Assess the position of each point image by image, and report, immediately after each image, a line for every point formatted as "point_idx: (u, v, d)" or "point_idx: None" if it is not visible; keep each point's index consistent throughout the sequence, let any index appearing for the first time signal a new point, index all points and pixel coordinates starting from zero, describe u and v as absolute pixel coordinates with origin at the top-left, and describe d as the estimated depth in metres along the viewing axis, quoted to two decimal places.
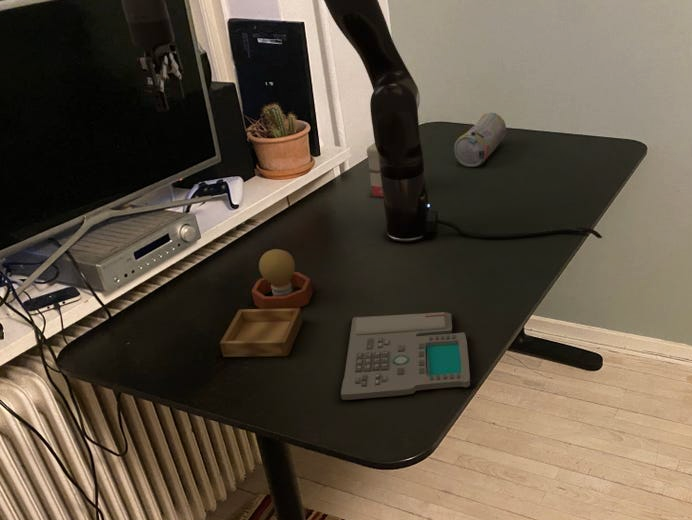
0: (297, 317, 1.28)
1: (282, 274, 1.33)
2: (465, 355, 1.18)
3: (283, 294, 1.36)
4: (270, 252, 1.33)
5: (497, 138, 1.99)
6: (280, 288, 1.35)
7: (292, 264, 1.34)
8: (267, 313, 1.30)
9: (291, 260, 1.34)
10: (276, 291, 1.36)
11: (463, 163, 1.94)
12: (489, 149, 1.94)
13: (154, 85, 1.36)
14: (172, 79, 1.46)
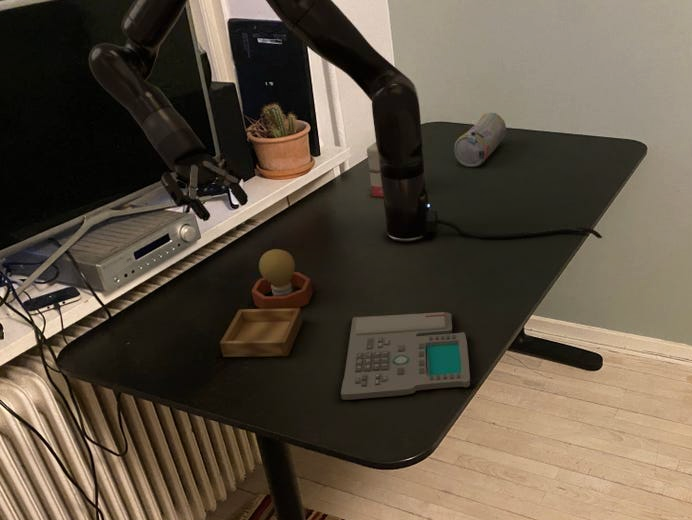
0: (297, 317, 1.28)
1: (282, 274, 1.33)
2: (465, 355, 1.18)
3: (283, 294, 1.36)
4: (270, 252, 1.33)
5: (497, 138, 1.99)
6: (280, 288, 1.35)
7: (292, 264, 1.34)
8: (267, 313, 1.30)
9: (291, 260, 1.34)
10: (276, 291, 1.36)
11: (463, 163, 1.94)
12: (489, 149, 1.94)
13: (177, 196, 1.30)
14: (231, 187, 1.38)
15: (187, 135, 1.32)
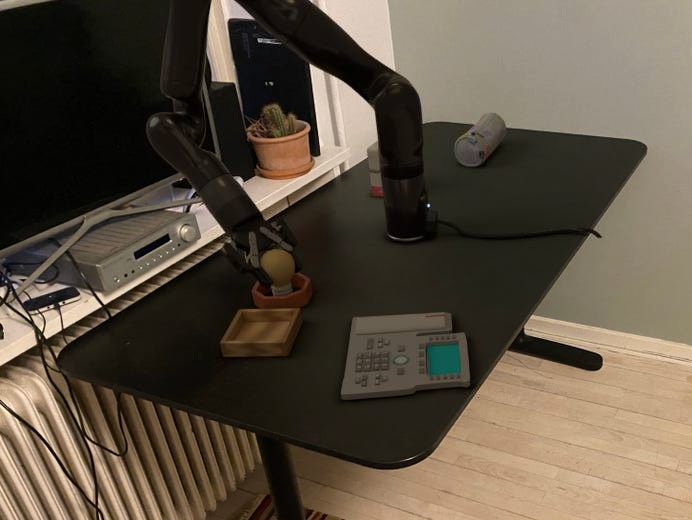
0: (297, 317, 1.28)
1: (282, 274, 1.33)
2: (465, 355, 1.18)
3: (283, 294, 1.36)
4: (270, 252, 1.33)
5: (497, 138, 1.99)
6: (280, 288, 1.35)
7: (292, 264, 1.34)
8: (267, 313, 1.30)
9: (291, 260, 1.34)
10: (276, 291, 1.36)
11: (463, 163, 1.94)
12: (489, 149, 1.94)
13: (241, 265, 1.30)
14: None
15: (245, 202, 1.32)
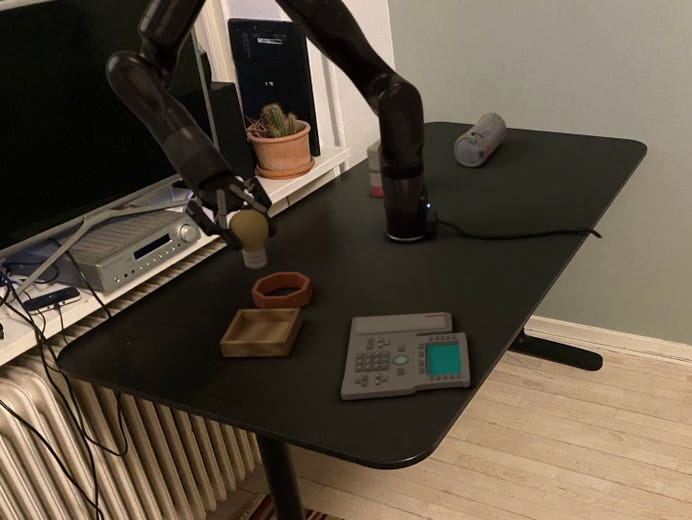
0: (297, 317, 1.28)
1: (253, 237, 1.19)
2: (465, 355, 1.18)
3: (255, 260, 1.23)
4: (240, 212, 1.19)
5: (497, 138, 1.99)
6: (252, 253, 1.22)
7: (265, 226, 1.20)
8: (267, 313, 1.30)
9: (264, 222, 1.20)
10: (248, 256, 1.22)
11: (463, 163, 1.94)
12: (489, 149, 1.94)
13: (207, 225, 1.17)
14: None
15: (212, 156, 1.18)
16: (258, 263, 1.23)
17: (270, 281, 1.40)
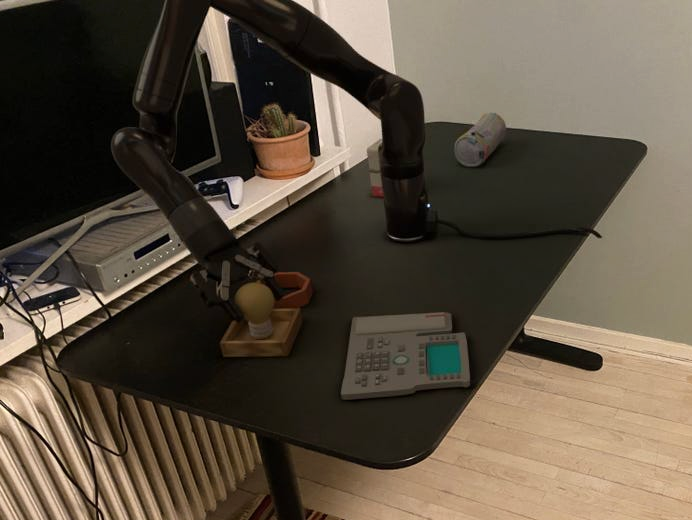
0: (297, 317, 1.28)
1: (260, 310, 1.21)
2: (465, 355, 1.18)
3: (261, 331, 1.24)
4: (246, 286, 1.21)
5: (497, 138, 1.99)
6: (258, 325, 1.24)
7: (271, 299, 1.22)
8: None
9: (270, 295, 1.22)
10: (254, 328, 1.24)
11: (463, 163, 1.94)
12: (489, 149, 1.94)
13: (208, 297, 1.17)
14: (265, 281, 1.26)
15: (218, 228, 1.20)
16: (264, 334, 1.25)
17: None
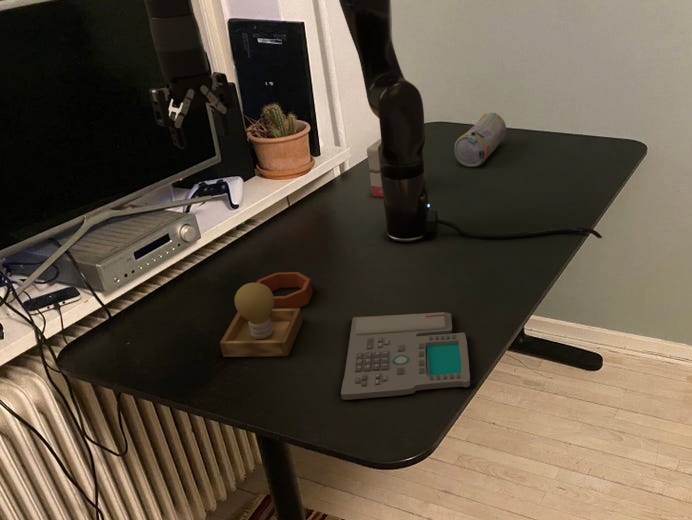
0: (297, 317, 1.28)
1: (260, 310, 1.21)
2: (465, 355, 1.18)
3: (261, 331, 1.24)
4: (246, 286, 1.21)
5: (497, 138, 1.99)
6: (258, 325, 1.24)
7: (271, 299, 1.22)
8: None
9: (270, 295, 1.22)
10: (254, 328, 1.24)
11: (463, 163, 1.94)
12: (489, 149, 1.94)
13: (163, 121, 1.21)
14: (216, 112, 1.30)
15: (198, 58, 1.20)
16: (264, 334, 1.25)
17: (270, 281, 1.40)
